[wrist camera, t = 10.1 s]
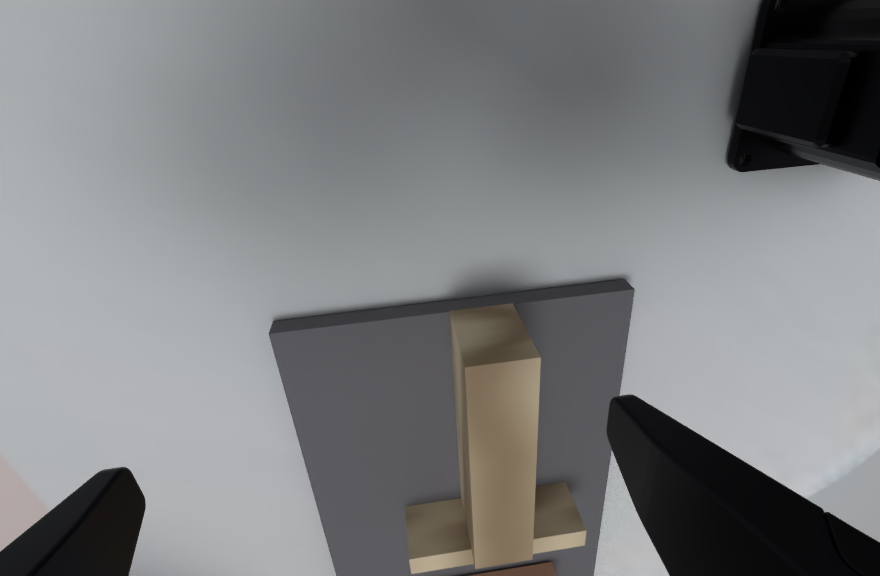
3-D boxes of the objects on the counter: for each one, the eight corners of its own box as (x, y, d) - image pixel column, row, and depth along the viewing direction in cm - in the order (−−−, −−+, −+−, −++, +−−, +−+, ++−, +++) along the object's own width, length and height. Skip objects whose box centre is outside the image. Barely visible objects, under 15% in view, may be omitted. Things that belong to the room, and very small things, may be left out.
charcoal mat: (624, 279, 22) (634, 289, 21) (581, 607, 35) (586, 622, 34) (273, 321, 21) (268, 334, 20) (361, 646, 34) (360, 662, 33)
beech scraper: (580, 294, 21) (622, 346, 18) (564, 496, 27) (592, 564, 24) (377, 319, 21) (378, 379, 17) (407, 521, 27) (412, 594, 23)
